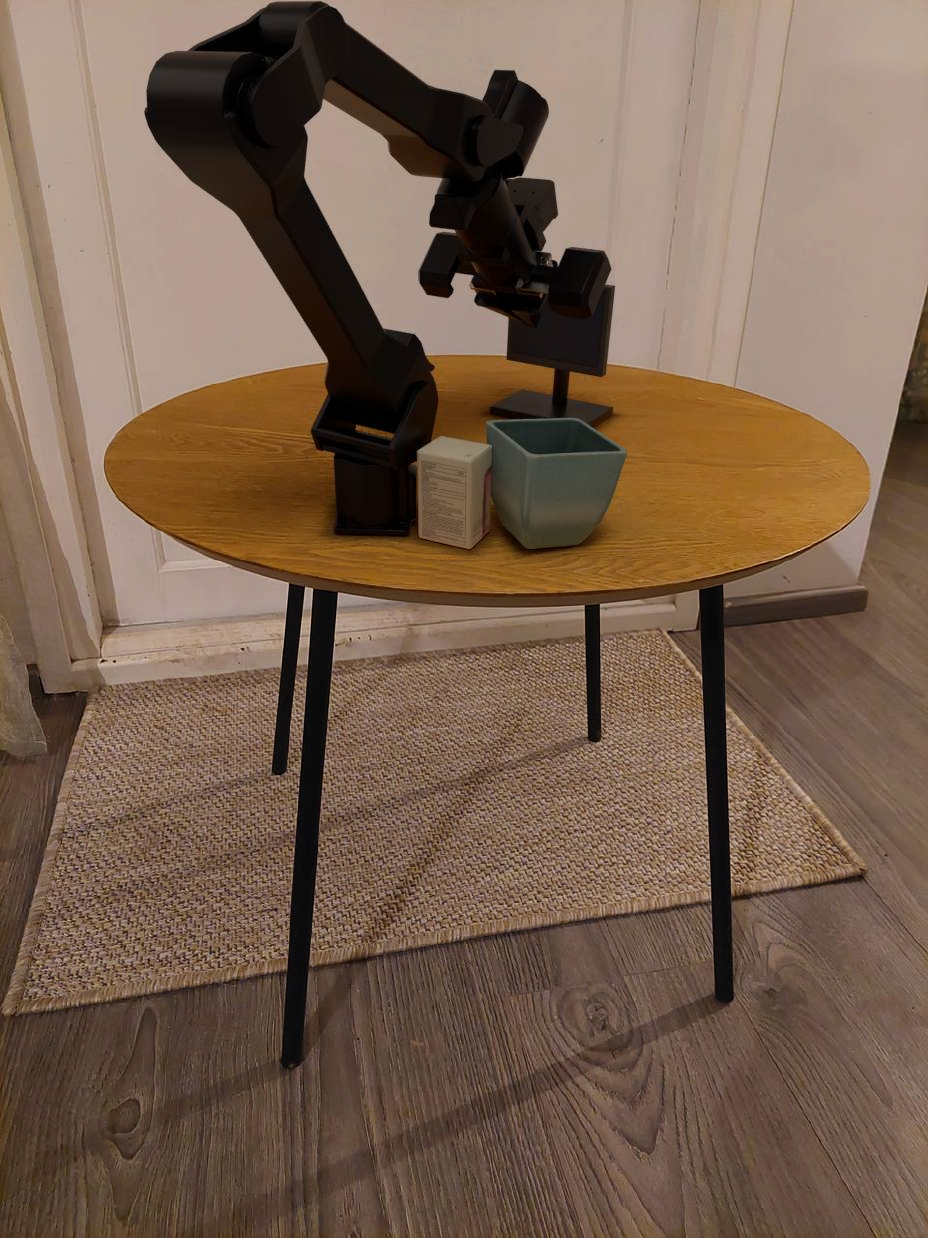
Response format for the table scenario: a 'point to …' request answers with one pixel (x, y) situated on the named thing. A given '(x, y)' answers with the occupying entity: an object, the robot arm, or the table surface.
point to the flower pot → (552, 478)
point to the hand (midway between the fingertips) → (535, 323)
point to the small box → (454, 491)
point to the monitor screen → (565, 339)
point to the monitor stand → (551, 404)
